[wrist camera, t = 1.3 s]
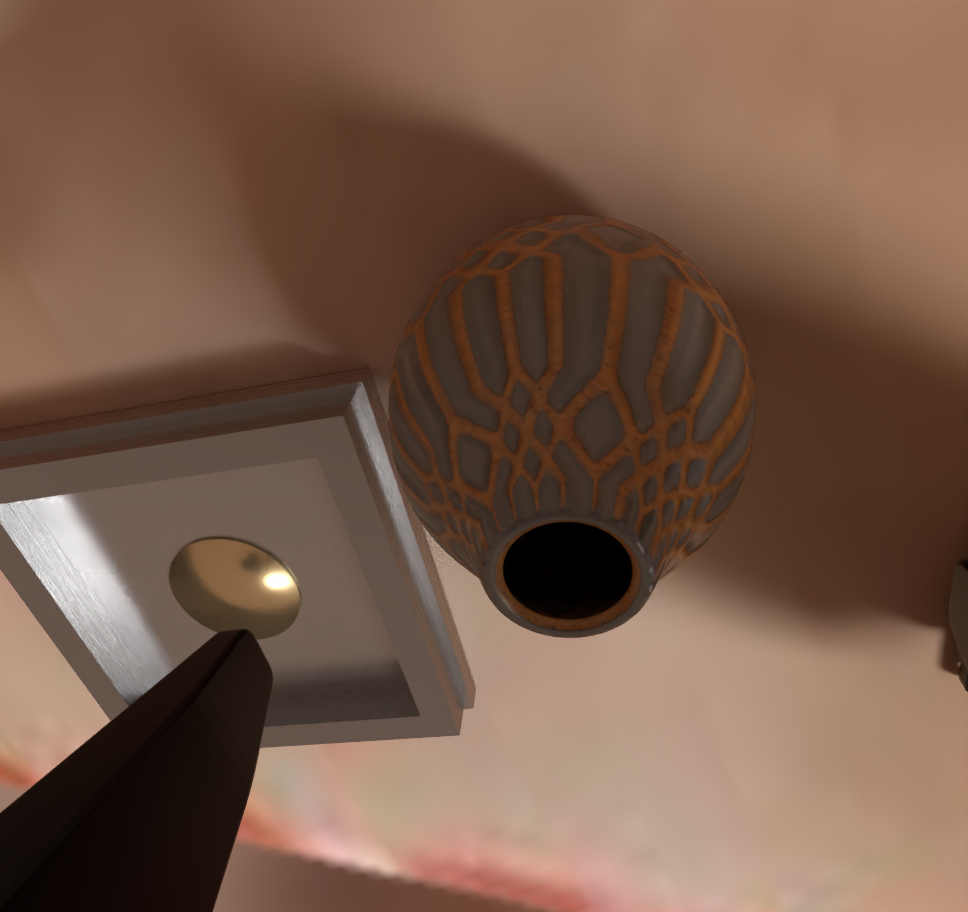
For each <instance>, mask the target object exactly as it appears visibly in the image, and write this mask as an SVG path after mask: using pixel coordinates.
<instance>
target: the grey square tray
mask: <svg viewBox="0 0 968 912" xmlns="http://www.w3.org/2000/svg"><path fill="white" fill-rule="evenodd" d="M0 570H1V571H2V572H3V574H4V575H5V576H6V578H7V579H8V581H9V582H10V583H11V585H12V586H13V587H14V589H15V590H16V591H17V593H18V594H19V596H20V597H21V598H22V600H23V601H24V602H25V604H26V605H27V607H28V608H29V609H30V611H31V612H32V613H33V615H34V616H35V618H36V619H37V620H38V622H39V623H40V624H41V626H42V627H43V628H44V630H45V631H46V633H47V634H48V635H49V637H50V638H51V639H52V641H53V642H54V644H55V645H56V646H57V648H58V649H59V650H60V652H61V653H62V655H63V656H64V657H65V659H66V660H67V661H68V663H69V664H70V666H71V667H72V668H73V670H74V671H75V672H76V674H77V675H78V676H79V678H80V679H81V681H82V682H83V683H84V685H85V686H86V687H87V689H88V690H89V692H90V693H91V694H92V696H93V697H94V698H95V700H96V701H97V703H98V704H99V705H100V707H101V708H102V709H103V711H104V712H105V714H106V715H107V716H108V718H109V719H110V720H111V721H112V720H113V719H114V718H115V717H116V716H118V715H119V714H120V713H121V712H122V711H124V710H125V709H126V708H127V707H129V706H130V705H131V704H132V703H133V702H135V701H136V700H137V699H138V698H139V697H141V696H142V695H143V694H144V693H145V692H147V691H148V690H149V689H150V688H151V687H153V686H154V685H155V684H156V683H157V682H159V681H160V680H161V679H162V678H163V677H165V676H166V675H167V674H168V673H169V672H171V671H172V670H173V669H174V668H176V667H177V666H178V665H179V664H180V663H182V662H183V661H184V660H185V659H186V658H188V657H189V656H190V655H191V654H192V653H194V652H195V651H196V650H197V649H198V648H200V647H201V646H202V645H203V644H204V643H206V642H207V641H208V640H209V639H210V638H212V637H213V636H214V635H215V634H217V633H218V632H220V631H224V630H232V629H242V628H244V629H248V630H250V631H251V632H252V633H253V634H254V636H255V638H256V640H257V641H258V643H259V645H260V647H261V649H262V651H263V653H264V655H265V657H266V658H267V660H268V662H269V664H270V666H271V669H272V673H273V687H272V692H271V697H270V702H269V706H268V711H267V716H266V721H265V726H264V730H263V735H262V740H261V745H260V748H264V747H280V746H296V745H312V744H328V743H344V742H360V741H376V740H392V739H408V738H424V737H440V736H456V735H460V729H461V722H462V716H463V709H471V708H473V707H474V700H475V692H476V687H475V684H474V681H473V678H472V675H471V672H470V669H469V666H468V663H467V660H466V657H465V654H464V651H463V648H462V645H461V642H460V639H459V636H458V633H457V630H456V627H455V624H454V621H453V618H452V615H451V612H450V609H449V606H448V603H447V600H446V597H445V594H444V591H443V588H442V585H441V582H440V578H439V575H438V572H437V569H436V566H435V563H434V560H433V557H432V554H431V551H430V548H429V545H428V542H427V539H426V536H425V533H424V530H423V527H422V524H421V521H420V520H419V518H418V517H417V515H416V513H415V512H414V510H413V508H412V506H411V504H410V502H409V500H408V498H407V496H406V493H405V491H404V489H403V486H402V484H401V481H400V478H399V474H398V471H397V468H396V464H395V460H394V455H393V451H392V444H391V437H390V429H389V424H388V421H387V418H386V415H385V412H384V409H383V406H382V403H381V400H380V397H379V394H378V391H377V388H376V385H375V382H374V379H373V376H372V373H371V370H370V368H365V369H359V370H353V371H347V372H341V373H335V374H329V375H324V376H318V377H312V378H306V379H300V380H294V381H288V382H283V383H277V384H271V385H265V386H259V387H253V388H247V389H242V390H236V391H230V392H224V393H218V394H212V395H206V396H200V397H195V398H189V399H183V400H177V401H171V402H165V403H159V404H154V405H148V406H142V407H136V408H130V409H124V410H118V411H112V412H107V413H101V414H95V415H89V416H83V417H77V418H71V419H66V420H60V421H54V422H48V423H42V424H36V425H30V426H25V427H19V428H13V429H7V430H1V431H0Z"/></svg>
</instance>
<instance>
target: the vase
mask: <svg viewBox="0 0 968 912" xmlns="http://www.w3.org/2000/svg"><path fill="white" fill-rule="evenodd" d="M754 421H755V392H754V382H753V376H752V370H751V365H750V359H749V356H748V352H747V349H746V346H745V343H744V341H743V338H742V335H741V333H740V331H739V328H738V326H737V324H736V322H735V320H734V318H733V316H732V314H731V312H730V310H729V309H728V307H727V305H726V304H725V302H724V301H723V299H722V297H721V296H720V294H719V293H718V291H717V290H716V289H715V287H714V286H713V285H712V283H711V282H710V281H709V279H708V278H707V277H706V276H705V275H704V274H703V273H702V272H701V271H700V270H699V269H698V268H697V267H696V265H695V264H694V263H693V262H692V261H690V260H689V259H688V258H687V257H686V256H685V255H684V254H683V253H681V252H680V251H679V250H677V249H676V248H675V247H673V246H672V245H671V244H669V243H667V242H666V241H664V240H663V239H661V238H659V237H657V236H655V235H653V234H652V233H650V232H648V231H645V230H643V229H640V228H638V227H636V226H633V225H630V224H627V223H623V222H620V221H617V220H612V219H608V218H604V217H597V216H589V215H557V216H548V217H543V218H537V219H533V220H529V221H525V222H522V223H519V224H516V225H513V226H511V227H508V228H506V229H503V230H501V231H499V232H496V233H494V234H492V235H491V236H489V237H487V238H485V239H483V240H481V241H480V242H478V243H477V244H475V245H474V246H472V247H471V248H469V249H468V250H467V251H465V252H464V253H463V254H461V255H460V256H459V257H458V258H457V259H456V260H455V261H454V262H452V263H451V264H450V265H449V266H448V267H447V268H446V270H445V271H444V272H443V273H442V274H441V275H440V276H439V277H438V279H437V280H436V281H435V282H434V283H433V285H432V286H431V287H430V289H429V290H428V291H427V292H426V294H425V296H424V297H423V299H422V300H421V302H420V303H419V305H418V307H417V308H416V310H415V312H414V314H413V315H412V317H411V319H410V321H409V323H408V325H407V327H406V330H405V332H404V334H403V337H402V339H401V342H400V345H399V348H398V351H397V354H396V357H395V361H394V365H393V369H392V376H391V383H390V390H389V429H390V437H391V444H392V451H393V455H394V460H395V464H396V468H397V471H398V474H399V478H400V481H401V484H402V486H403V489H404V491H405V493H406V496H407V498H408V500H409V502H410V504H411V506H412V508H413V510H414V512H415V513H416V515H417V517H418V518H419V520H420V521H421V523H422V524H423V525H424V527H425V528H426V530H427V531H428V532H429V533H430V535H431V536H432V537H433V538H434V540H435V541H436V542H437V543H438V544H439V545H440V546H441V547H442V548H443V549H444V550H445V551H446V552H447V553H448V554H449V555H450V556H451V557H452V558H454V559H455V560H456V561H457V562H458V563H459V564H461V565H462V566H463V567H465V568H466V569H467V570H468V571H470V572H471V573H472V574H474V575H475V576H477V577H478V578H479V579H480V581H481V584H482V586H483V588H484V590H485V592H486V594H487V595H488V597H489V598H490V600H491V601H492V603H493V604H494V605H495V606H496V608H497V609H498V610H499V611H500V612H501V613H502V614H504V615H505V616H506V617H507V618H509V619H510V620H511V621H513V622H514V623H516V624H518V625H519V626H521V627H523V628H525V629H528V630H530V631H533V632H536V633H539V634H543V635H547V636H553V637H561V638H579V637H588V636H593V635H597V634H601V633H604V632H607V631H610V630H612V629H614V628H616V627H618V626H620V625H622V624H623V623H625V622H627V621H628V620H629V619H631V618H632V617H633V616H634V615H636V614H637V613H638V612H639V611H640V610H641V608H642V607H643V606H644V605H645V603H646V602H647V600H648V599H649V597H650V595H651V594H652V592H653V590H654V588H655V586H656V584H657V582H658V581H659V580H660V579H662V578H663V577H665V576H666V575H667V574H669V573H670V572H672V571H673V570H674V569H676V568H677V567H678V566H680V565H681V564H682V563H684V562H685V561H686V560H687V559H688V558H689V557H691V556H692V555H693V554H694V553H695V552H696V551H697V550H698V549H699V548H700V547H701V546H702V545H703V544H704V543H705V542H706V541H707V540H708V538H709V537H710V536H711V535H712V534H713V532H714V531H715V530H716V529H717V527H718V526H719V524H720V523H721V522H722V520H723V519H724V517H725V516H726V514H727V512H728V511H729V509H730V507H731V505H732V503H733V501H734V499H735V497H736V495H737V492H738V490H739V488H740V485H741V483H742V480H743V477H744V474H745V470H746V467H747V463H748V460H749V456H750V451H751V445H752V439H753V432H754Z"/></svg>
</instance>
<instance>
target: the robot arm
mask: <svg viewBox="0 0 968 912" xmlns="http://www.w3.org/2000/svg"><path fill="white" fill-rule="evenodd" d="M948 613H949V622H950V626H951V630H952V632H953V635H954V637H955V640H956V642H957V645H958V648H957V657H958V659H959V660H960V662H961V664H960V671H959V679H960V681H961V683H962V684H963V686H964V688H965V690H966V691H967V692H968V558H964V559H961V560H959V561H958V562H957V564H956V565H955V569H954V574H953V581H952V589H951V596H950V603H949V612H948ZM272 687H273V673H272V669H271V666H270V664H269V662H268V660H267V658H266V657H265V655H264V653H263V651H262V649H261V647H260V645H259V643H258V641H257V640H256V638H255V636H254V634H253V633H252V632H251V631H250V630H248V629H244V628H242V629H232V630H224V631H220V632H218V633H217V634H215V635H214V636H213V637H212V638H210V639H209V640H208V641H207V642H206V643H204V644H203V645H202V646H201V647H200V648H198V649H197V650H196V651H195V652H194V653H192V654H191V655H190V656H189V657H188V658H186V659H185V660H184V661H183V662H182V663H180V664H179V665H178V666H177V667H176V668H174V669H173V670H172V671H171V672H169V673H168V674H167V675H166V676H165V677H163V678H162V679H161V680H160V681H159V682H157V683H156V684H155V685H154V686H153V687H151V688H150V689H149V690H148V691H147V692H145V693H144V694H143V695H142V696H141V697H139V698H138V699H137V700H136V701H135V702H133V703H132V704H131V705H130V706H129V707H127V708H126V709H125V710H124V711H122V712H121V713H120V714H119V715H118V716H116V717H115V718H114V719H113V720H112V721H110V722H109V723H108V724H107V725H106V726H104V727H103V728H102V729H101V730H100V731H98V732H97V733H96V734H95V735H94V736H92V737H91V738H90V739H89V740H88V741H86V742H85V743H84V744H83V745H81V746H80V747H79V748H78V749H77V750H75V751H74V752H73V753H72V754H71V755H69V756H68V757H67V758H66V759H65V760H63V761H62V762H61V763H60V764H59V765H57V766H56V767H55V768H54V769H53V770H51V771H50V772H49V773H48V774H47V775H45V776H44V777H43V778H42V779H40V780H39V781H38V782H37V783H36V784H34V785H33V786H32V787H31V788H30V789H28V790H27V791H26V792H25V793H24V794H22V795H21V796H20V797H19V798H18V799H17V800H15V801H14V802H13V803H12V804H10V805H9V806H8V807H7V808H6V809H4V810H3V811H2V812H1V813H0V912H213V909H214V906H215V903H216V900H217V896H218V893H219V890H220V887H221V883H222V880H223V877H224V874H225V871H226V868H227V865H228V861H229V858H230V855H231V851H232V849H233V845H234V842H235V839H236V836H237V833H238V830H239V826H240V823H241V820H242V817H243V814H244V810H245V807H246V804H247V800H248V797H249V793H250V790H251V786H252V782H253V778H254V774H255V769H256V764H257V759H258V755H259V750H260V745H261V740H262V735H263V730H264V726H265V721H266V716H267V711H268V706H269V702H270V697H271V692H272Z"/></svg>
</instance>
